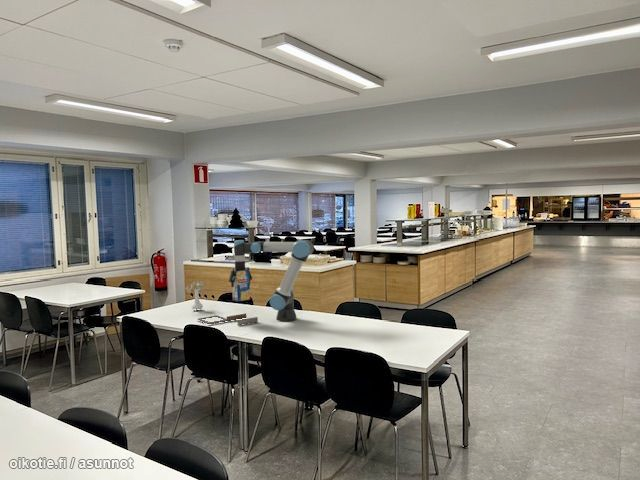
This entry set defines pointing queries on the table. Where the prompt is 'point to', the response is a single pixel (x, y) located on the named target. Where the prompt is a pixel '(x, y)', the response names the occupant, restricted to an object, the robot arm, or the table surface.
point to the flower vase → (196, 294)
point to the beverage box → (241, 285)
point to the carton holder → (243, 321)
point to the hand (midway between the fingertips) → (241, 290)
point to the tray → (214, 321)
